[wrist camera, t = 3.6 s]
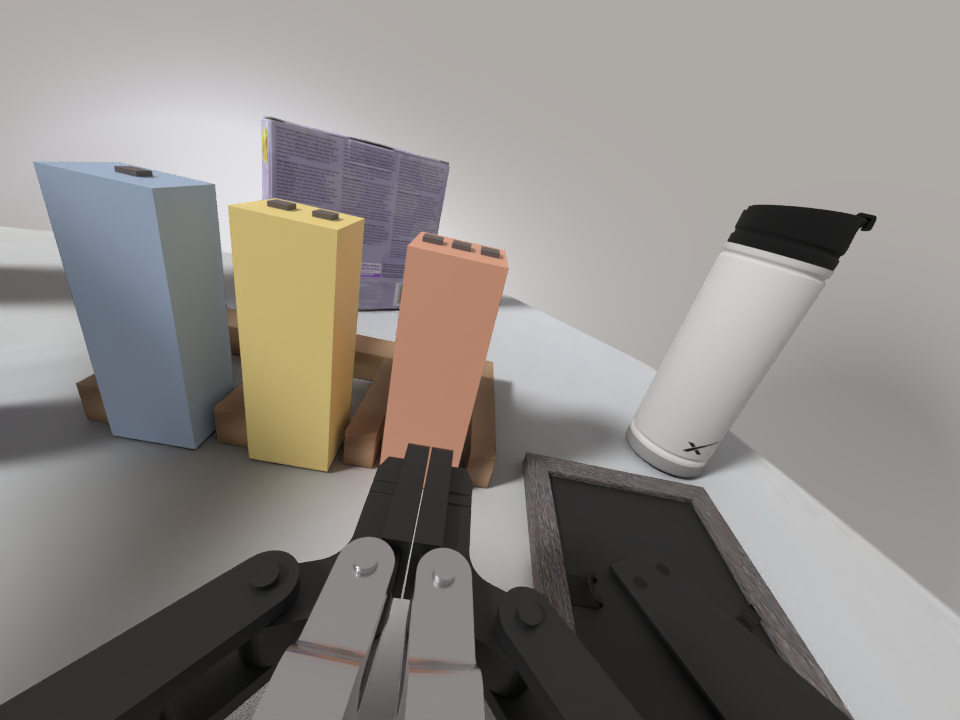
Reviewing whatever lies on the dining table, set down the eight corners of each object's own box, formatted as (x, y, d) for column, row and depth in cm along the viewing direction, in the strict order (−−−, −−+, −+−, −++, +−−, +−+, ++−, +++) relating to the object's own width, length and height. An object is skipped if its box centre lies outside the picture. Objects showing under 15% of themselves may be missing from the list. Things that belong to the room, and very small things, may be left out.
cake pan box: (418, 296, 53) (439, 157, 45) (435, 310, 50) (460, 162, 42) (263, 296, 42) (254, 112, 34) (270, 314, 39) (262, 114, 31)
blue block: (112, 435, 21) (31, 154, 15) (168, 394, 25) (123, 157, 19) (195, 449, 22) (150, 181, 15) (238, 407, 25) (217, 178, 19)
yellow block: (249, 458, 22) (227, 199, 15) (284, 415, 26) (278, 192, 19) (327, 471, 22) (337, 224, 16) (350, 427, 26) (366, 213, 20)
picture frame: (956, 947, 12) (693, 502, 28) (1009, 936, 11) (706, 483, 27) (555, 899, 11) (520, 468, 27) (577, 883, 10) (528, 447, 26)
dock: (87, 419, 22) (75, 383, 21) (223, 333, 33) (220, 307, 32) (487, 488, 24) (496, 459, 23) (486, 384, 35) (493, 361, 34)
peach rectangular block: (377, 480, 23) (408, 239, 16) (393, 435, 26) (422, 226, 20) (451, 492, 23) (509, 263, 16) (456, 446, 27) (505, 245, 20)
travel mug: (699, 494, 28) (893, 212, 19) (615, 445, 31) (751, 183, 22) (708, 460, 32) (865, 223, 24) (635, 420, 36) (752, 198, 27)
